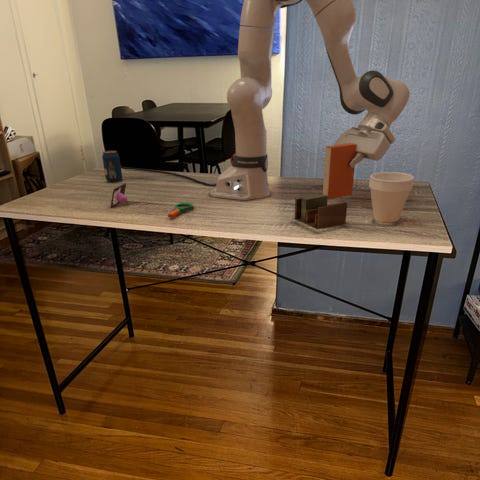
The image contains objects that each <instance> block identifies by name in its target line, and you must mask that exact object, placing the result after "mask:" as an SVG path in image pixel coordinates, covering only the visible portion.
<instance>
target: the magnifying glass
mask: <svg viewBox="0 0 480 480" xmlns="http://www.w3.org/2000/svg"><path fill="white" fill-rule="evenodd" d="M193 209H194V204H193V203H192V202H179V203H177V204H175V205H174V210H172V211H171V212H169V213H167V218H169V219H173V218H175V217H176V216H178V215H179V214H182V213H185V212H188V211H191V210H193Z"/></svg>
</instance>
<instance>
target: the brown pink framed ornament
mask: <svg viewBox="0 0 480 480" xmlns="http://www.w3.org/2000/svg"><path fill="white" fill-rule="evenodd" d="M126 187H127V183H123V184H121V185H119V186H117V187H115V188H113V189H112V190H111V192H112V195H111V201H110V208H114V207H115V206H117V205H119V204H126V203H127V204H128V205H130V202H129V201H128V198H127V196H126V195H125V193H126ZM119 190H120V191H119ZM118 191H119V192H118ZM116 192H117V193H116ZM115 193H116V194H115ZM114 199H115V200H116V201H117V202H116V203H114Z"/></svg>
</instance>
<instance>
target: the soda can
mask: <svg viewBox="0 0 480 480" xmlns="http://www.w3.org/2000/svg"><path fill="white" fill-rule="evenodd" d="M101 158H102V164H103V170H104V176H105V180H106V181H107V182H108V183H114V184H115V183H120V182H122V180H123V172H122V168H121V166H122V165H121V160H120V159H121V158H120V155H119V153H118V151H117V150H105V151H103V152H102V157H101Z"/></svg>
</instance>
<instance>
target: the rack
mask: <svg viewBox="0 0 480 480" xmlns="http://www.w3.org/2000/svg"><path fill="white" fill-rule="evenodd" d="M328 201H329V200H328V196H327V195H324V194H323V193H320V194H315V195H309V196H308V195H307V196H303V197H298V198H295V199H294V218H293V220H296V221H298V222H299V223H302V224H304V225H307V226H309V227H311V228H313V229H316V230H319V229H324V228H329V227H333V226H339V225H343V224H347V210H348V202H347V201H346V202H345V201H344V202H340V203H334V204H329V205H328Z"/></svg>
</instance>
